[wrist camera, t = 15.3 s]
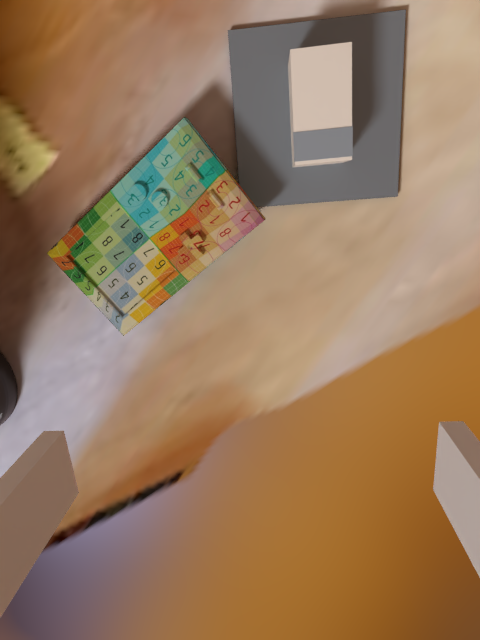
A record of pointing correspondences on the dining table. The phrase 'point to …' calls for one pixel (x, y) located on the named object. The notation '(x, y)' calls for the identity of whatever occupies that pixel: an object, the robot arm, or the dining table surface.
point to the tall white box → (321, 104)
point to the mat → (274, 109)
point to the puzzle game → (156, 229)
